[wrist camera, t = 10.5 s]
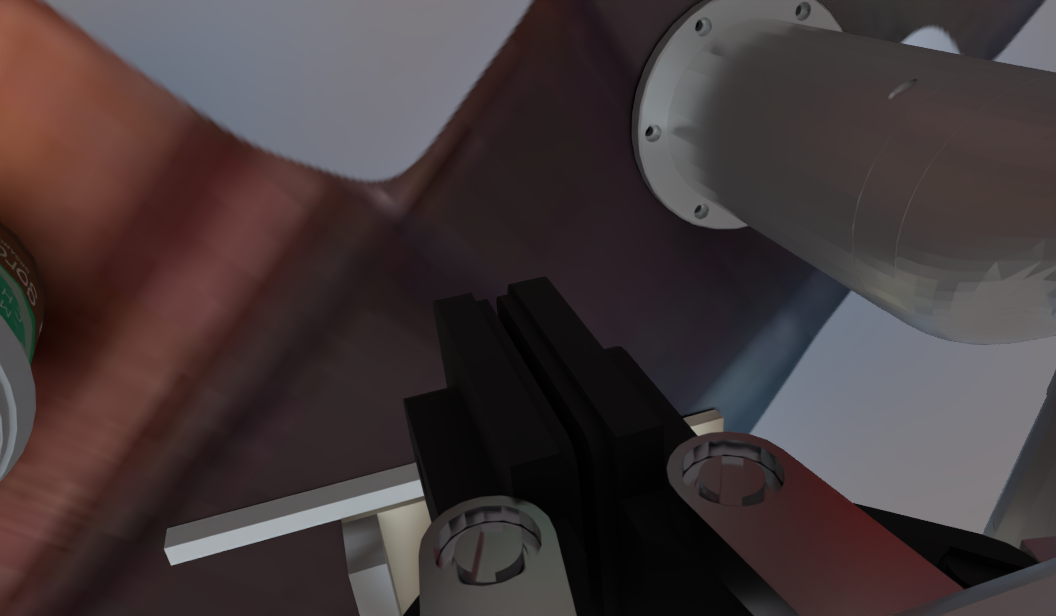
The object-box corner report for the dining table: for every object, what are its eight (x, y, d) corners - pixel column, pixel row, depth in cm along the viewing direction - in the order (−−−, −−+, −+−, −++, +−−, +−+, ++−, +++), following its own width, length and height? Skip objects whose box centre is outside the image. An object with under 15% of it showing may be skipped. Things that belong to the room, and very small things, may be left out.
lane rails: (612, 410, 48) (623, 424, 46) (621, 571, 54) (631, 588, 53) (167, 528, 42) (163, 548, 41) (236, 692, 49) (235, 715, 47)
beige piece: (715, 409, 50) (758, 455, 46) (712, 525, 55) (751, 577, 50) (340, 511, 45) (348, 574, 40) (373, 630, 49) (383, 698, 45)
